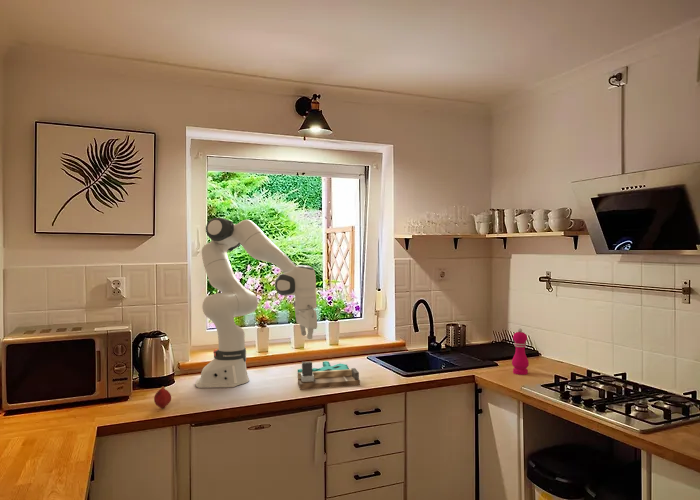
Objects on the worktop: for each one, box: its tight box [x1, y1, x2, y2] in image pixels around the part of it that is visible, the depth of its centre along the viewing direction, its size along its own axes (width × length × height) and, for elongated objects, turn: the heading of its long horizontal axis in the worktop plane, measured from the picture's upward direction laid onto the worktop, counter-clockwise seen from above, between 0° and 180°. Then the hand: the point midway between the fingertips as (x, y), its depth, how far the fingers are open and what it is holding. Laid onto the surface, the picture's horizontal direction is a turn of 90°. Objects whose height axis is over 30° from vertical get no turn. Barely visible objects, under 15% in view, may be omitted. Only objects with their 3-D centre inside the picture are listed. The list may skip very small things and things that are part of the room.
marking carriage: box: [300, 360, 315, 382], centre depth 217 cm, size 6×6×7 cm
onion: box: [153, 386, 172, 409], centre depth 190 cm, size 6×6×8 cm
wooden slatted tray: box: [297, 367, 361, 390], centre depth 219 cm, size 25×10×5 cm, turn 101°
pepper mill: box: [511, 327, 530, 376], centre depth 232 cm, size 7×7×20 cm
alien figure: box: [297, 360, 350, 374], centre depth 239 cm, size 20×2×20 cm
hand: (306, 337), depth 217 cm, fingers open, 8 cm apart
